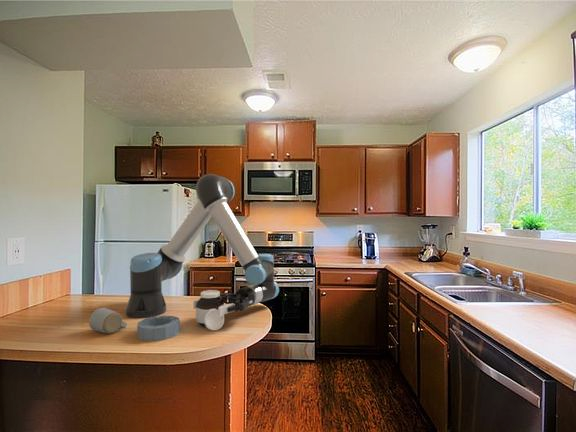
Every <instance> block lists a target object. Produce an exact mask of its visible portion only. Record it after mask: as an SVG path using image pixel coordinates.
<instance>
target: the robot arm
mask: <svg viewBox="0 0 576 432" xmlns="http://www.w3.org/2000/svg"><path fill="white" fill-rule="evenodd" d="M195 192H196V198H197V199H196V200H197V201H196V203H195V205H194V207H193V208H192V209H191V211H190V212H189V213H188V215H187V217H186V218H185V219H184V221H183V222H182V223H181V225H180V226H179V228H178V229H177V231H176V232H175V233H174V235H172V237H171V239H170V240H169V242H168V243H167V244H163V245H162V246H161V247H160V249H159V250H158V251H157V252H146V253H141V254H140V253H139V254H136V255H134V256H133V257H132V258H131V259H130V263H129V264H130V265H129V270H130V271H129V273H130V274H129V275H130V277H129V278H130V295H129V299H128V301H127V305H126V307H125V316H126V317H128V318H133V319H134V318H135V319H138V318H139V319H141V318H143V319H145V318H150V317H155V316H161V315H162V314H165V313H166V312H167V303H166V301H165V298H164V295H163V293H162V291H163V289H162V286H163V285H162V284H163V283H162V282H164V281H167V280H170V279H173V278H175V277H176V276H178V274H179V273H180V272H181V271H182V268H183V265H184V264H183V263H184V262H185V260H186V257H185V255H186V253H187V252H188V251H189V249H190V248H191V247H192V245H193V243H194V242H195V241H196V239H197V238H198V237H199V235H200V234H201V232H203V230H204V228H205V227H206V225H207V224H208V223H209V221H210V220H211V218H213V220H214V222H215V224H216V226H217V227H218V228H219V230H220V232H221V233H222V235H223V237H224V239H225V240H226V242H227V244H228V245H229V247H230V249H231V251H232V252H233V254H234V255H235V257H236V259H237V260H238V262H239V264H240V265H241V268H242V269H243V270H244V278H245V280H246V282H247V283H248V284H249V285H247V286H245V287H241V288H239V289H237V291H236V292H235V293H230V292H227V293H220V297H221V298H222V299H223V301H224V306H221V307H218V315H219V316H221V315H224V316H225V315H228V314H230V313H232V312H234V311H235V312H241V313H242V312H244V311H245V310H247V309H248V308H249V307H250V306H256V305H257V304H259V303H262V302H266V301H270V300H272V299H275V298H277V296H278V295H279V293H280V287H279V286H278V283H277V282H276V281H274V279H275V278H274V274H275V273H274V271H275V270H274V267H275V266H274V265H275V261H274V255H273V254H270V253H261V254H258V253H257V251H256V249H255V248H254V246H253V244H252V243H251V241H250V239H249V237H248V236H247V234H246V232H245V231H244V229H243V227H242V226H241V223H240V222H239V220H238V219H237V217H236V216H235V214H234V212H233V210H232V209H231V208H230V205H229V204H228V203H230V202H231V201H232V200H233V198H234V197H235V186H234V184H233V182H232V181H230V180H229V179H228V178H226V177H225V176H220V175H217V174H214V173H208V174H204V175H202V176H201V177H200V178H199V179H198V180H197V182H196V184H195ZM198 301H199V299H195V300H193V303H192V304H193V309H194V310H196V304H197V302H198Z"/></svg>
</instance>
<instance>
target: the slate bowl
mask: <svg viewBox="0 0 576 432" xmlns="http://www.w3.org/2000/svg"><path fill="white" fill-rule="evenodd" d="M180 324H181V322H180V317H178V316H176V315H156V316H151V317H145V318H143V319H142V320H140V321H138V322H137V326H136V328H137V330H136V332H137V339H139V340H141V341H143V342H158V341H159V342H160V341H165V340H168V339H171V338H175V337H176V336H178V335H179V334H180V333H181V331H180V330H181V325H180Z"/></svg>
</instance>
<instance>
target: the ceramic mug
mask: <svg viewBox="0 0 576 432" xmlns="http://www.w3.org/2000/svg"><path fill="white" fill-rule="evenodd" d="M89 316H90V317H89V320H88V324H89V327H90V329H91V330H93V331H95V332H99V333H102V334H106V335H109V334H114V333H116V332H117V331H118V330H119V329H120V328H126V327H127V325H128V323H127V322H126V321H123V317H122V315H121V314H120V313H118V312H117V311H114V310H112V309H109V308H107V307H100V308H97V309H95V310H94V311H93V312H92V313H91V314H90V315H89Z"/></svg>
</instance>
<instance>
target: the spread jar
mask: <svg viewBox="0 0 576 432" xmlns="http://www.w3.org/2000/svg"><path fill="white" fill-rule="evenodd" d="M220 294H221V291H220V290H217V289H207V290H203V291H200V298H199V299H198V300H199V301H198V302H197V304H196V309H195V321H196V323H197V324H198V325H199V326H200V327H202V328H207V329H208V330H209V331H218V330H220V329H221V328H222V327H223V325H224V324H225V314H224V315H221V316H219V315H218V307H221V306H225V303H224V301H223V299H222V298H221V297H220Z"/></svg>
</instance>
